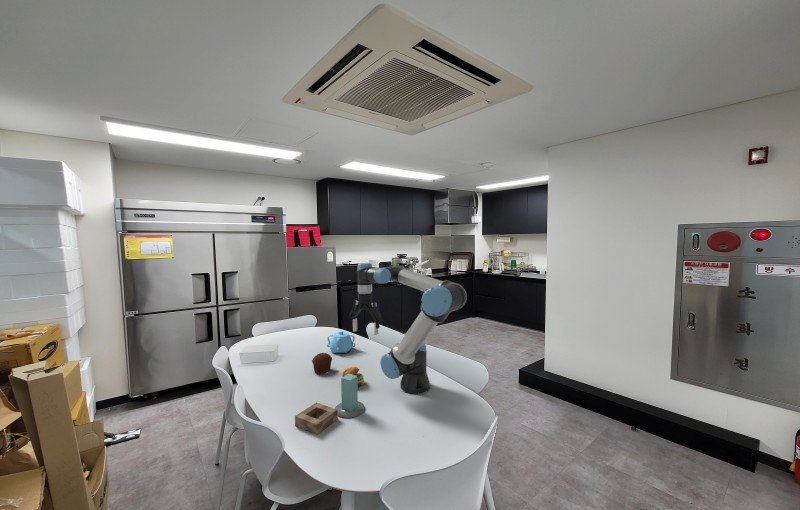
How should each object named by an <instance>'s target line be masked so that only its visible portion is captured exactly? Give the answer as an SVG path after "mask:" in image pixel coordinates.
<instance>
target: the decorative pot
mask: <svg viewBox="0 0 800 510" xmlns="http://www.w3.org/2000/svg"><path fill="white" fill-rule="evenodd" d="M330 337H331V339H330ZM351 337H352V338H351ZM355 339H356V337H355V335H353V334H350V333H349V332H347V331H346V332H345V331H344V330H340V331H338V332H335V333H334V334H329V335H328V336H327V341H328V343H327V344H326V346H327V348H329V349H330V351H331V352H332V353H333V354H337V353H338V354H339V353H342V354H347V353H348V352H350V351H351V349H352V348H355V347H356V343H355Z"/></svg>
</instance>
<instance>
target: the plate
mask: <svg viewBox="0 0 800 510" xmlns="http://www.w3.org/2000/svg"><path fill="white" fill-rule="evenodd" d="M334 409H337V410H338V418H342V419H352V418H357V417H359V416H360V415H362V414H363V413H364V411H365V404H364V403H363V402H361V401H359V400H358V407H357V408H356V409H354V410H353V411H352V412H349V411H346V410H343V409H342V402H340V403H338V404H337V405H336V406H335V407H334Z"/></svg>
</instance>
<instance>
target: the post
mask: <svg viewBox="0 0 800 510" xmlns="http://www.w3.org/2000/svg"><path fill="white" fill-rule="evenodd" d="M340 385H341V389H340V390H341V403H342V409H343V410H346V411H349V412H352V411H353V410H354V409H356V408H357V407H358V401H359V400H358V399H359V398H358V396H359V394H358V391H359V390H358V387H359V386H358V387H357V376H356V375H352V374H347V375H345V376H344V377H342V376H341V382H340Z"/></svg>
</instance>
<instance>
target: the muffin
mask: <svg viewBox="0 0 800 510" xmlns="http://www.w3.org/2000/svg"><path fill="white" fill-rule="evenodd" d="M332 361H333V357H332V355H330V354H329V353H327V352H319V353H317V354H316V355H314V357H313V358H312V360H311V362H312V365H313V370H314V371H313V372H314V374H317V375H326V374H328V373H330V372H331V368H332V366H331V365H332Z"/></svg>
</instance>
